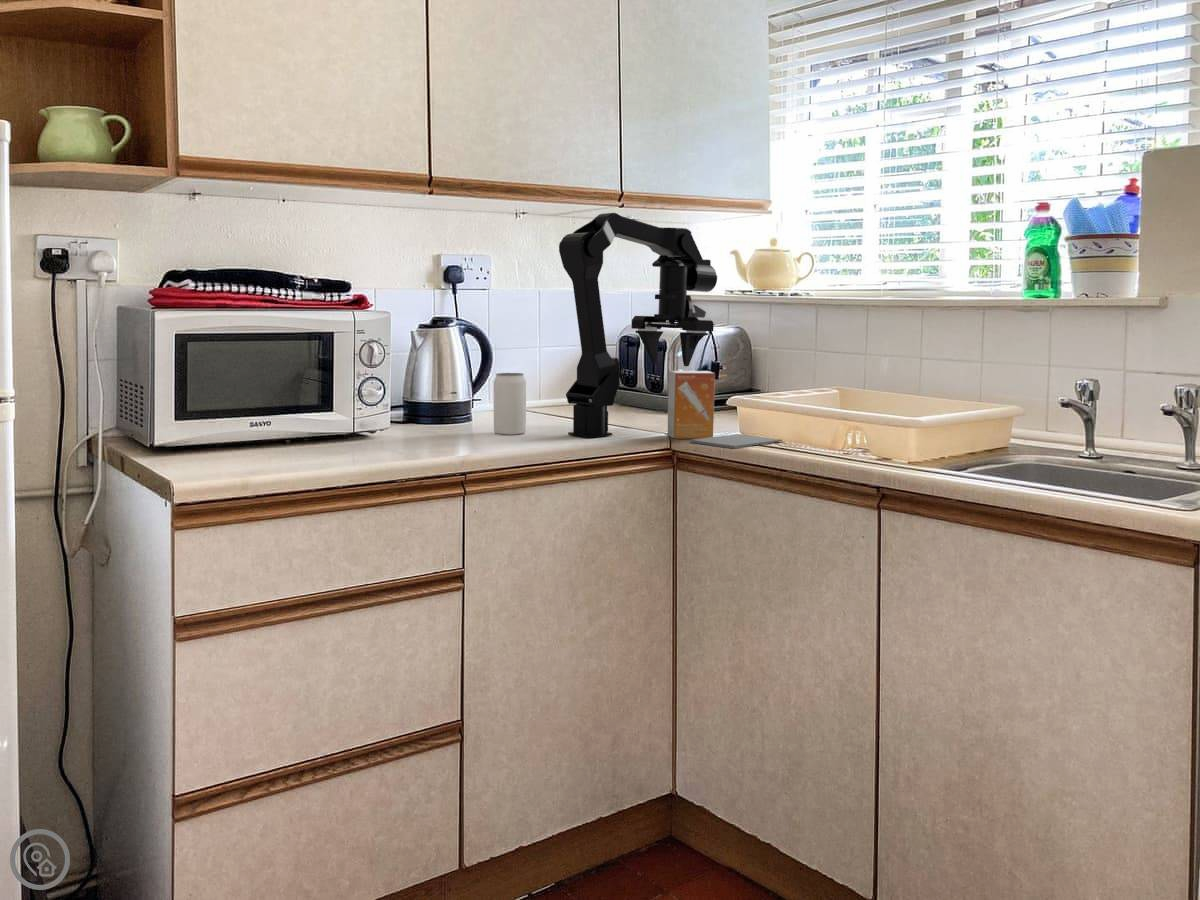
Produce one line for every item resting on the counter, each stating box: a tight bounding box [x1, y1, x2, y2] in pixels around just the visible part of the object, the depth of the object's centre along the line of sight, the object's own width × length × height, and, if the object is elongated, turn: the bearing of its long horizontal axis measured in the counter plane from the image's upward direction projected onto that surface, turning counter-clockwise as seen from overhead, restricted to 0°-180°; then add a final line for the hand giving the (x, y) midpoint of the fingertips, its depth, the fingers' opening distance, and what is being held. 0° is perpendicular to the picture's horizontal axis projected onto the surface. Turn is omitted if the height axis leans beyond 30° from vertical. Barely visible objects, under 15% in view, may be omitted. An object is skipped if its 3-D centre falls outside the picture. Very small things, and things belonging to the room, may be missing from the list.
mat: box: [689, 433, 783, 449], centre depth 204 cm, size 14×11×1 cm
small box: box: [667, 370, 716, 440], centre depth 210 cm, size 8×6×13 cm
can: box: [493, 372, 527, 436], centre depth 214 cm, size 6×6×12 cm
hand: (670, 365), depth 224 cm, fingers open, 9 cm apart
